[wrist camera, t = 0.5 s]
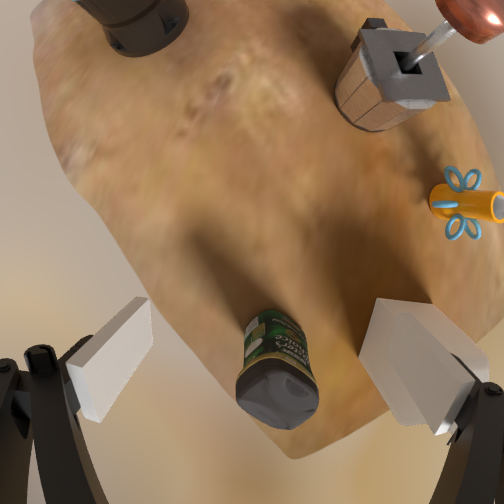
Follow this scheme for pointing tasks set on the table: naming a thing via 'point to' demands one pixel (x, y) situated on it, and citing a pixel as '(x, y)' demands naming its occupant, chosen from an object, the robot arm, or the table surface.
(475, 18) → the plunger
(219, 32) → the table surface
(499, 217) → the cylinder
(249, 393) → the coffee jar
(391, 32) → the press carafe
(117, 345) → the robot arm
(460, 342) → the milk
